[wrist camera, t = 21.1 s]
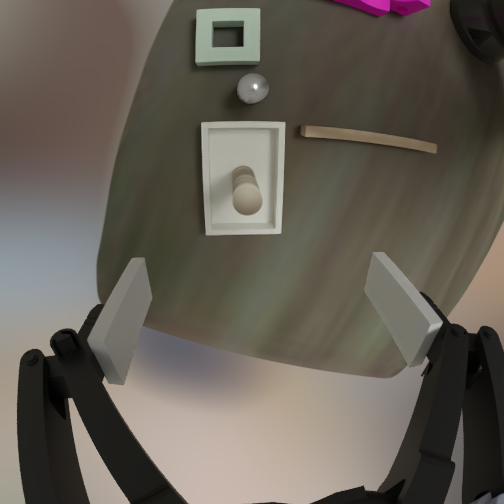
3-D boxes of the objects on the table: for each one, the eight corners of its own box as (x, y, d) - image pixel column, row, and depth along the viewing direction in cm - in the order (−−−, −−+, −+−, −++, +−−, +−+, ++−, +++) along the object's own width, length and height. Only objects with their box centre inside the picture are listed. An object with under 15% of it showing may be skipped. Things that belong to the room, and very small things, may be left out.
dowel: (232, 165, 38) (232, 187, 28) (254, 165, 38) (262, 186, 28) (232, 186, 40) (232, 215, 29) (254, 186, 40) (262, 215, 29)
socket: (199, 16, 28) (196, 9, 26) (258, 15, 29) (260, 8, 26) (198, 66, 32) (195, 62, 29) (257, 64, 32) (259, 61, 30)
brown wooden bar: (300, 124, 37) (305, 125, 34) (426, 141, 38) (437, 144, 35) (300, 134, 37) (305, 136, 35) (425, 150, 39) (436, 153, 36)
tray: (203, 122, 36) (201, 122, 33) (281, 121, 36) (285, 122, 34) (207, 227, 43) (205, 235, 40) (277, 225, 43) (281, 233, 41)
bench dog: (236, 79, 33) (237, 73, 28) (263, 79, 33) (269, 73, 28) (236, 104, 35) (237, 102, 30) (263, 104, 35) (268, 102, 30)
